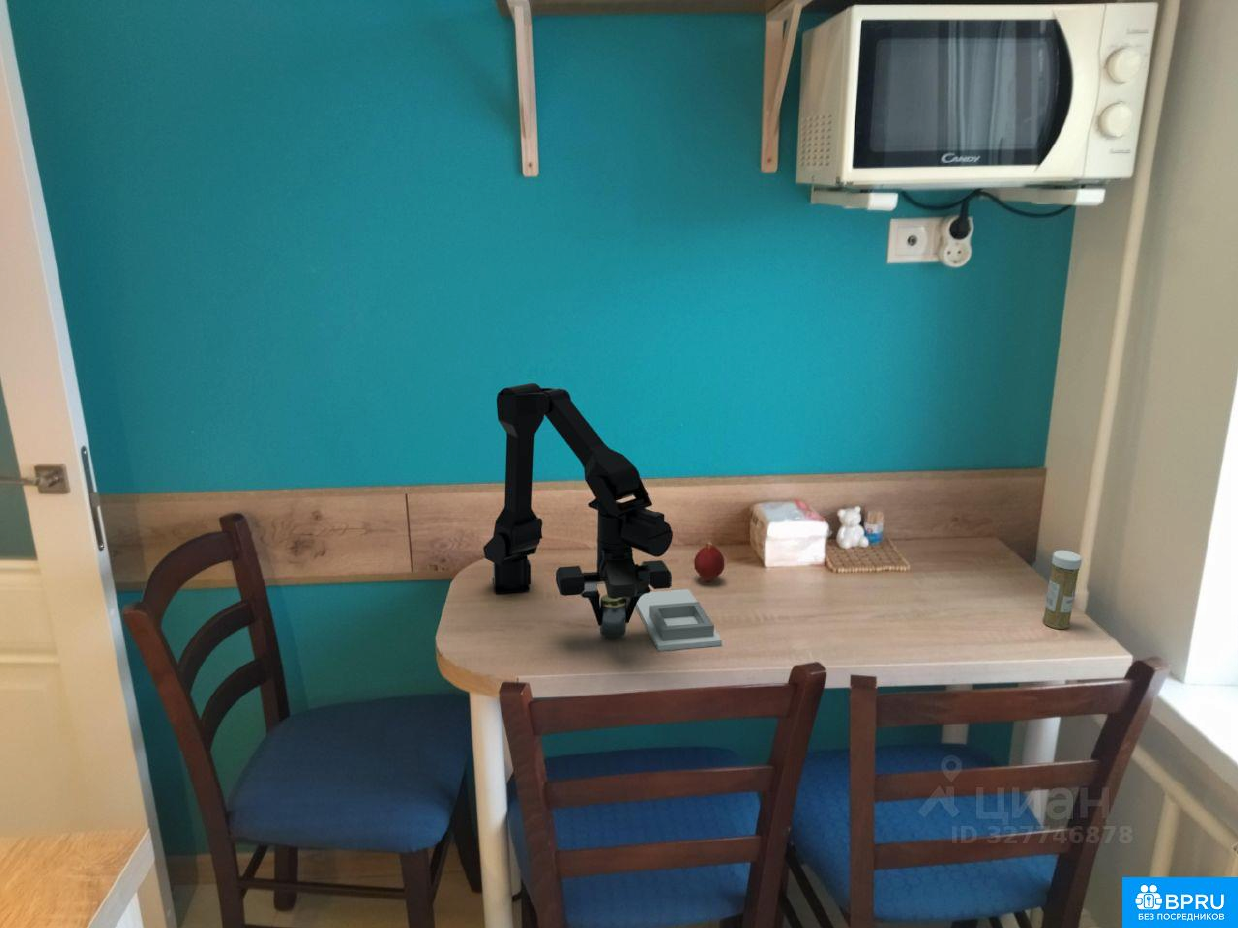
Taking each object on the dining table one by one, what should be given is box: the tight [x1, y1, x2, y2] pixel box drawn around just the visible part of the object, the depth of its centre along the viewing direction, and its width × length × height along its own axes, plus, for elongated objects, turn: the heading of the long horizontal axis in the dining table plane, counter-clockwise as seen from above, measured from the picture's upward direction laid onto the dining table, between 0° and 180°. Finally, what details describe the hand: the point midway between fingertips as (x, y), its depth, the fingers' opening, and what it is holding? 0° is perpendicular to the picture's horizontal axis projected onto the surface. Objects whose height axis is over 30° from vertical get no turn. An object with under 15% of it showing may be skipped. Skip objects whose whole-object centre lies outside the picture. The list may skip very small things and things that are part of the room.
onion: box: [693, 542, 725, 582], centre depth 178 cm, size 6×6×8 cm
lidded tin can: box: [599, 594, 627, 639], centre depth 156 cm, size 4×4×6 cm
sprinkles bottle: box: [1042, 550, 1083, 630], centre depth 163 cm, size 5×5×13 cm
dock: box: [635, 588, 723, 652], centre depth 163 cm, size 11×20×3 cm, turn 12°
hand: (612, 623), depth 156 cm, fingers closed on lidded tin can, 4 cm apart
